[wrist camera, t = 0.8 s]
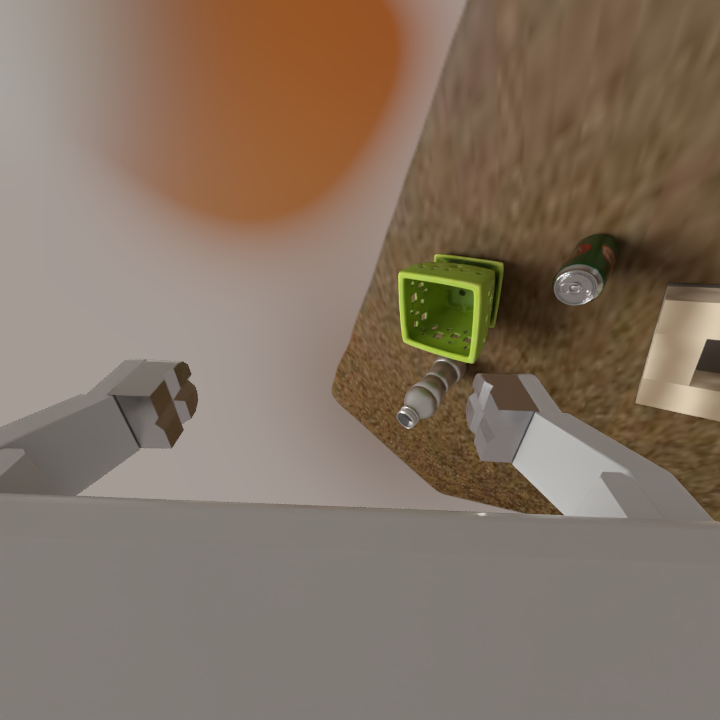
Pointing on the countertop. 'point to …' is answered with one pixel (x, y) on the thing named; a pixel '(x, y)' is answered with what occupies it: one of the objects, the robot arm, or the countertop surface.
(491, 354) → the countertop surface
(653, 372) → the can holder
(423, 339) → the flower pot
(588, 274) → the soda can
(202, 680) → the robot arm
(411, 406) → the plastic bottle
